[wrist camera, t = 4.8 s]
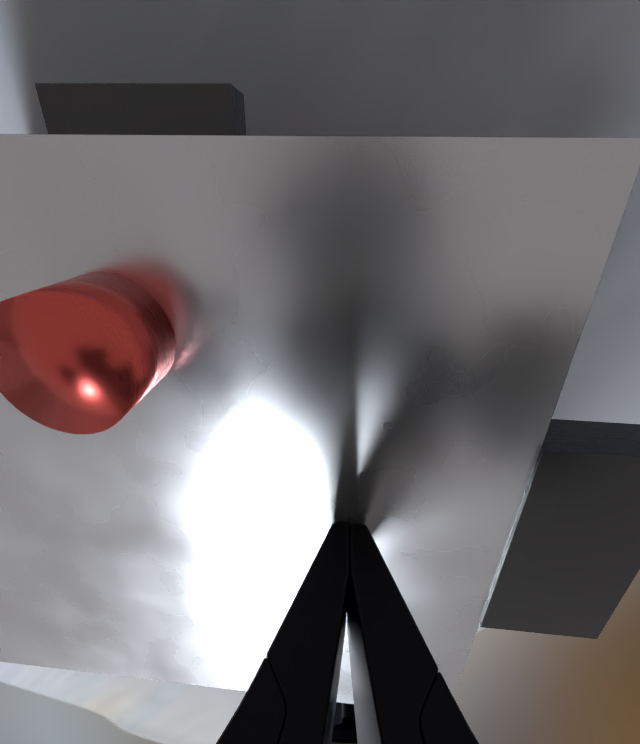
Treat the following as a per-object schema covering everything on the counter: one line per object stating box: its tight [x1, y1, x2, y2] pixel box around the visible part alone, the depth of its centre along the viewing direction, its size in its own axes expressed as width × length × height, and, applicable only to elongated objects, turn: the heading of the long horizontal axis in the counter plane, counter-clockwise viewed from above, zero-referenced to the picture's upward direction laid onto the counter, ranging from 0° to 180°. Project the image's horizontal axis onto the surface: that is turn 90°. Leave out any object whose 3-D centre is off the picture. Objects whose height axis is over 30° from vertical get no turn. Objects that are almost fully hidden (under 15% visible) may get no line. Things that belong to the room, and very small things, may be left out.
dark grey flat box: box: [35, 84, 246, 136], centre depth 14 cm, size 19×16×8 cm
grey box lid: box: [0, 134, 640, 704], centre depth 9 cm, size 17×20×3 cm
